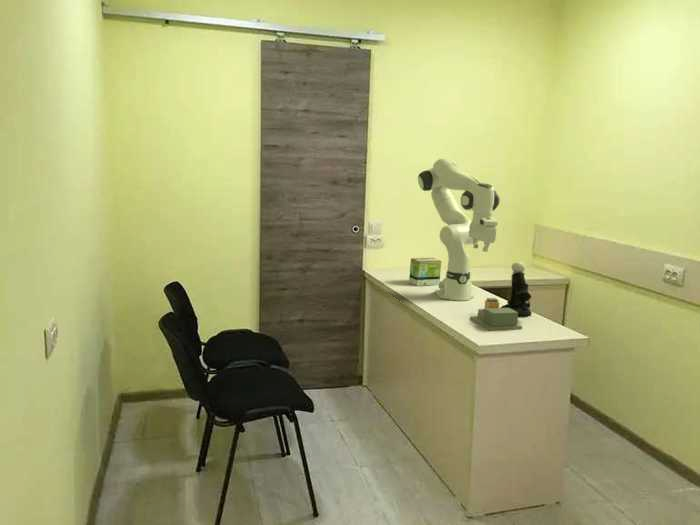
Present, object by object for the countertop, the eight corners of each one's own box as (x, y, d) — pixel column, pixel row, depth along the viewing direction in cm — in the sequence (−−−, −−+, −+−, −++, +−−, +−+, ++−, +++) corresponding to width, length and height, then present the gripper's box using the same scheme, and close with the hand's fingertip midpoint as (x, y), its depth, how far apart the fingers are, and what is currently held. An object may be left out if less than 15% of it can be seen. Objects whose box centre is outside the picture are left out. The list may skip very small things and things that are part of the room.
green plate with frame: (470, 318, 268) (471, 303, 267) (501, 317, 272) (503, 302, 271) (488, 330, 251) (489, 314, 250) (522, 328, 255) (523, 312, 254)
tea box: (417, 286, 332) (419, 261, 329) (408, 282, 341) (410, 257, 338) (440, 285, 338) (441, 259, 335) (430, 281, 347) (432, 256, 344)
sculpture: (526, 309, 289) (530, 259, 284) (540, 323, 266) (546, 268, 261) (495, 308, 289) (499, 258, 285) (507, 321, 266) (511, 267, 261)
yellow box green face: (483, 317, 267) (485, 298, 266) (493, 316, 269) (495, 297, 267) (487, 319, 264) (489, 300, 262) (497, 319, 265) (499, 299, 263)
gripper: (466, 217, 276) (464, 246, 278) (486, 222, 256) (484, 253, 258) (478, 217, 277) (476, 246, 280) (499, 222, 258) (497, 253, 260)
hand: (480, 249), depth 269 cm, fingers open, 8 cm apart
